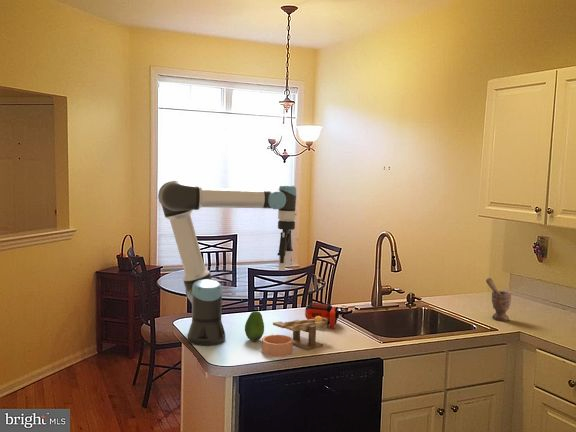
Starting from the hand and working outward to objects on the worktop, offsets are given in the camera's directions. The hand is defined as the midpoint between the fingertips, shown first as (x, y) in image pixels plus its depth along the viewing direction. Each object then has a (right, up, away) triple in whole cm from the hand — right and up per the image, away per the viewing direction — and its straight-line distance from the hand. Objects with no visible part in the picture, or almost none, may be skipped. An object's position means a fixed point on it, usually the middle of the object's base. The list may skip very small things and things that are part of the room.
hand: (284, 267), depth 237 cm
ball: (+14, -19, -20) cm, 31 cm away
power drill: (+17, -26, +4) cm, 31 cm away
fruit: (-12, -27, -22) cm, 37 cm away
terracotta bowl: (-3, -28, -34) cm, 44 cm away
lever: (+6, -22, -23) cm, 32 cm away
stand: (+8, -28, -24) cm, 38 cm away
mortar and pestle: (+102, -27, +20) cm, 108 cm away
